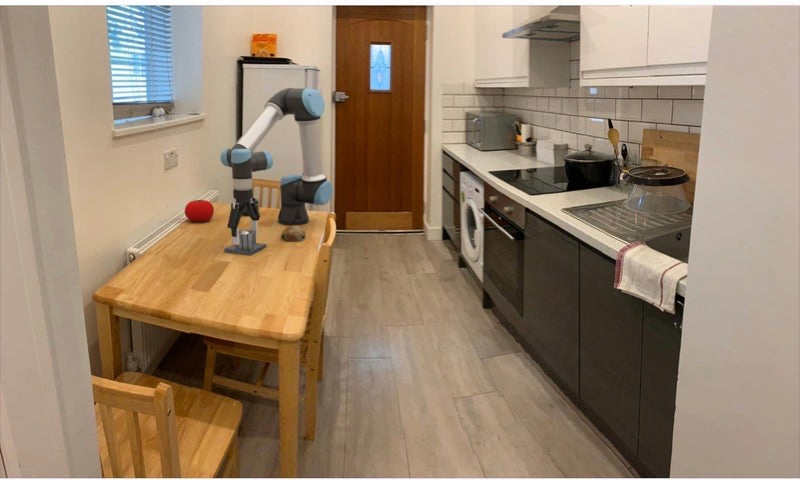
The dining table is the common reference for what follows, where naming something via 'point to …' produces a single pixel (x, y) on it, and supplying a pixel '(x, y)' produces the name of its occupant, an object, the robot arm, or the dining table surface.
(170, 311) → the dining table surface
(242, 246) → the tube
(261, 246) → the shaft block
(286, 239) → the bread roll
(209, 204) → the tomato
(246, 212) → the jar
